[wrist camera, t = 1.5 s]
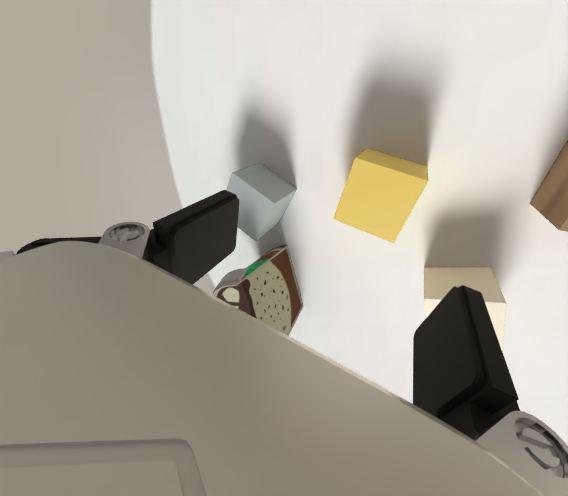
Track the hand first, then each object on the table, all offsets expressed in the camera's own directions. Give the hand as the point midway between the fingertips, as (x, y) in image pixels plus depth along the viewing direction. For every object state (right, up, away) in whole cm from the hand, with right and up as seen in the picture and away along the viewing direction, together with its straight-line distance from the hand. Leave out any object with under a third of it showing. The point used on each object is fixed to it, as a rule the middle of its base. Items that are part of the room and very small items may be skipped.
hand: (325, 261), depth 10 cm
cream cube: (+15, -3, +13) cm, 20 cm away
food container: (-3, -3, +23) cm, 23 cm away
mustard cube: (+7, +6, +11) cm, 15 cm away
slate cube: (-3, +7, +17) cm, 19 cm away
